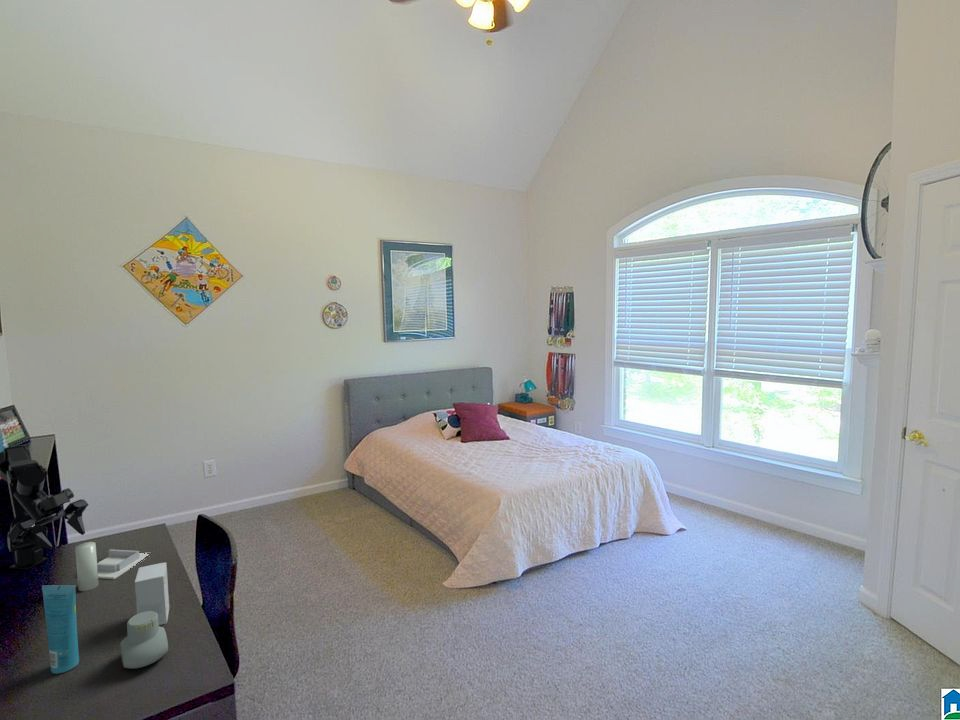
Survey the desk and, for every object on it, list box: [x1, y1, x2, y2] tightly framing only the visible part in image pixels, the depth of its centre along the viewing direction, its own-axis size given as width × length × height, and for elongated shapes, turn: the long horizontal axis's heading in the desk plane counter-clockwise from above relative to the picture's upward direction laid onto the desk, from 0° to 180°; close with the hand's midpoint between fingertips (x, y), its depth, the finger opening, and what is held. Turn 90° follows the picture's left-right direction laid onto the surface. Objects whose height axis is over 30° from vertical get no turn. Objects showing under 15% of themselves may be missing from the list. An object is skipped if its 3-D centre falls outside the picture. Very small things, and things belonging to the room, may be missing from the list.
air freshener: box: [119, 611, 169, 670], centre depth 113 cm, size 11×8×10 cm
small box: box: [133, 562, 170, 626], centre depth 127 cm, size 8×6×13 cm
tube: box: [41, 584, 80, 675], centre depth 110 cm, size 7×5×19 cm, turn 96°
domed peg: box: [74, 541, 100, 592], centre depth 142 cm, size 5×5×12 cm
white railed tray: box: [97, 548, 149, 580], centre depth 155 cm, size 12×15×3 cm
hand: (68, 540), depth 143 cm, fingers open, 9 cm apart
